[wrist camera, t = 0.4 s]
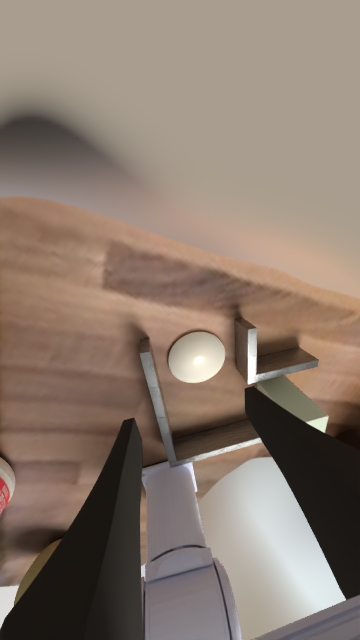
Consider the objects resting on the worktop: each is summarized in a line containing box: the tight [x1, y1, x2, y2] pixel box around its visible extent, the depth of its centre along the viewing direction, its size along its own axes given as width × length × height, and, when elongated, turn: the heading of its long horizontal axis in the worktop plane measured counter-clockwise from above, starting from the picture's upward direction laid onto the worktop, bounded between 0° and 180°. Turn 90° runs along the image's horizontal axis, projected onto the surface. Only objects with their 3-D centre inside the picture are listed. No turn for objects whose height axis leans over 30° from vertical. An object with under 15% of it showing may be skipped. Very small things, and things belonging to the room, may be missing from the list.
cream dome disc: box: [168, 332, 225, 383], centre depth 22 cm, size 7×7×1 cm
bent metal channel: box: [139, 318, 319, 468], centre depth 23 cm, size 18×20×3 cm
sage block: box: [257, 375, 328, 433], centre depth 23 cm, size 4×4×7 cm
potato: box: [14, 539, 62, 606], centre depth 27 cm, size 8×8×8 cm
